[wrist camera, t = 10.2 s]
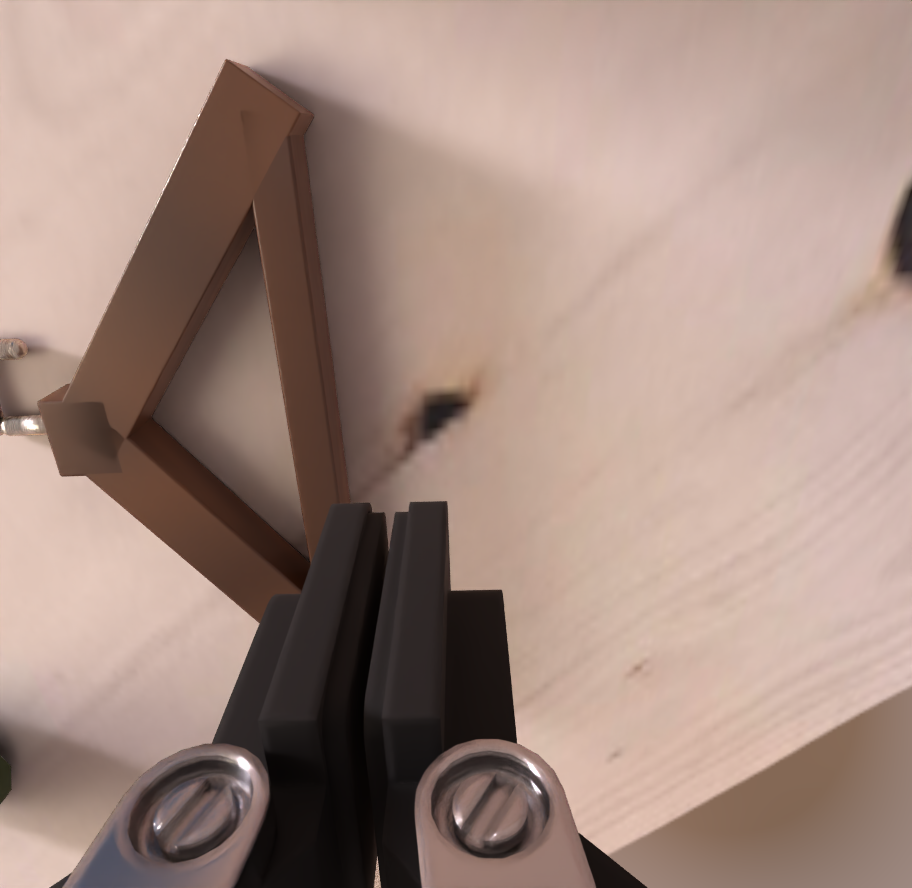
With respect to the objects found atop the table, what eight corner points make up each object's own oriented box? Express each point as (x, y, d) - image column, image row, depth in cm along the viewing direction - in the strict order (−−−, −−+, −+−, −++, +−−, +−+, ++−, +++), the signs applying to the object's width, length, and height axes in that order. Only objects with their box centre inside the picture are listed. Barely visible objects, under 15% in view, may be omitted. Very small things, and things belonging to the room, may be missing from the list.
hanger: (74, 657, 25) (50, 689, 23) (-126, 88, 17) (-181, 83, 16) (378, 648, 24) (372, 680, 23) (307, 62, 17) (292, 55, 16)
